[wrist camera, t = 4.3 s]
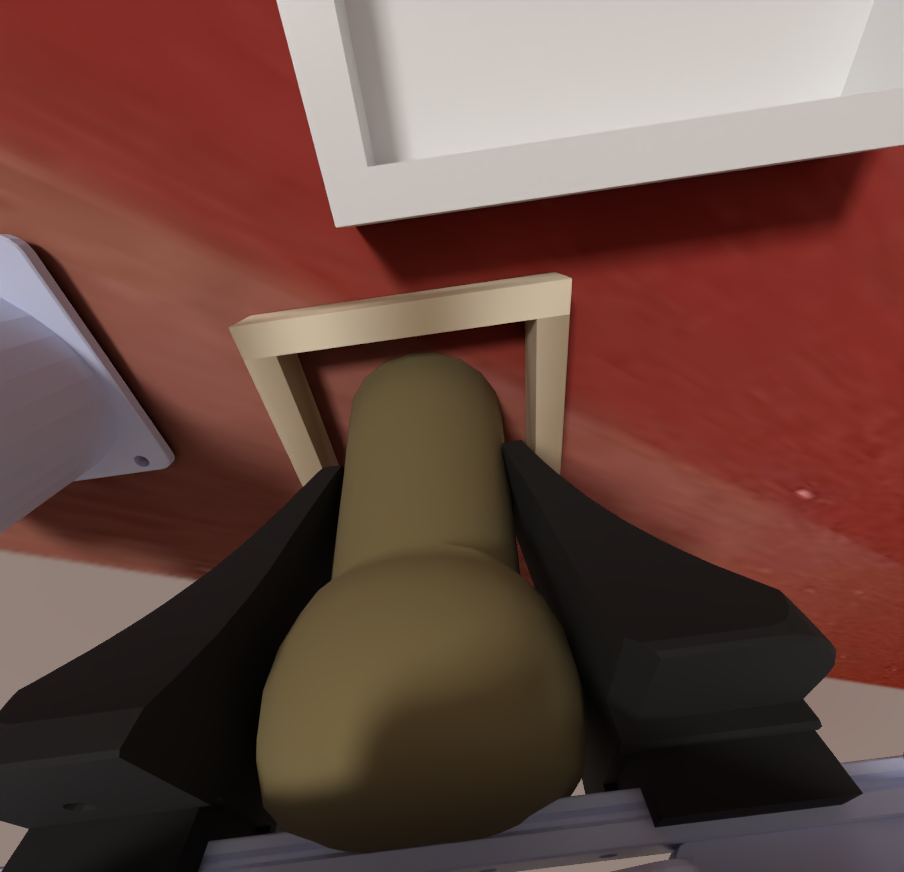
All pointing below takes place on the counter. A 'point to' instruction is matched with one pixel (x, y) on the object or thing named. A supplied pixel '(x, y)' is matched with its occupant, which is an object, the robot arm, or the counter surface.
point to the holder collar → (399, 316)
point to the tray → (582, 94)
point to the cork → (421, 639)
